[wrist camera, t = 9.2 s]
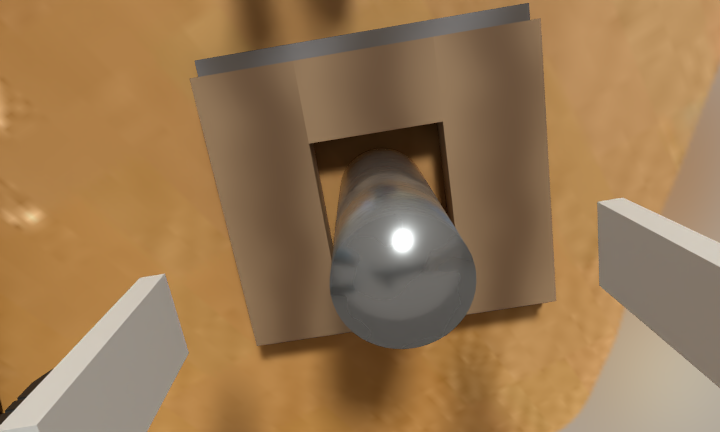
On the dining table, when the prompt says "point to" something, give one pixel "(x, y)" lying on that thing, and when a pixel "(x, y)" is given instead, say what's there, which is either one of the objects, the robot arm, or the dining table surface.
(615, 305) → the dining table surface
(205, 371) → the dining table surface
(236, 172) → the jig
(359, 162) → the steel cylinder rod
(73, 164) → the dining table surface
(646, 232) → the robot arm
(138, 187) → the dining table surface
